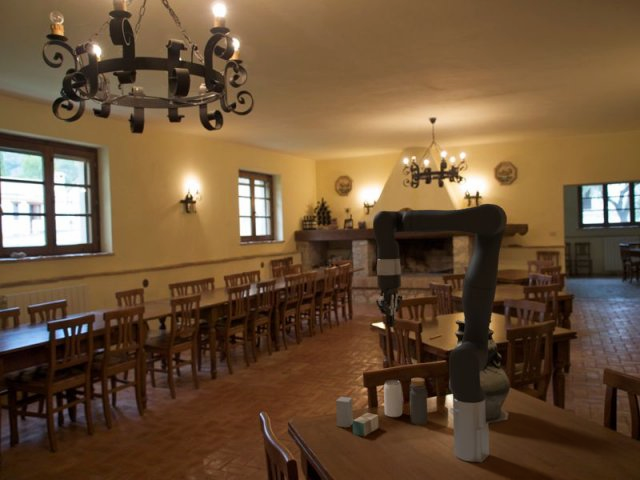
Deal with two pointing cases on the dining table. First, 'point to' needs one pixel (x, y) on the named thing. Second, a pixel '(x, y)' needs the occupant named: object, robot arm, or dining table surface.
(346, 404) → the grey block
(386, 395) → the can
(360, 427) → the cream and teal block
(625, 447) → the dining table surface
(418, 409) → the bottle
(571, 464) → the dining table surface
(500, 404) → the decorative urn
